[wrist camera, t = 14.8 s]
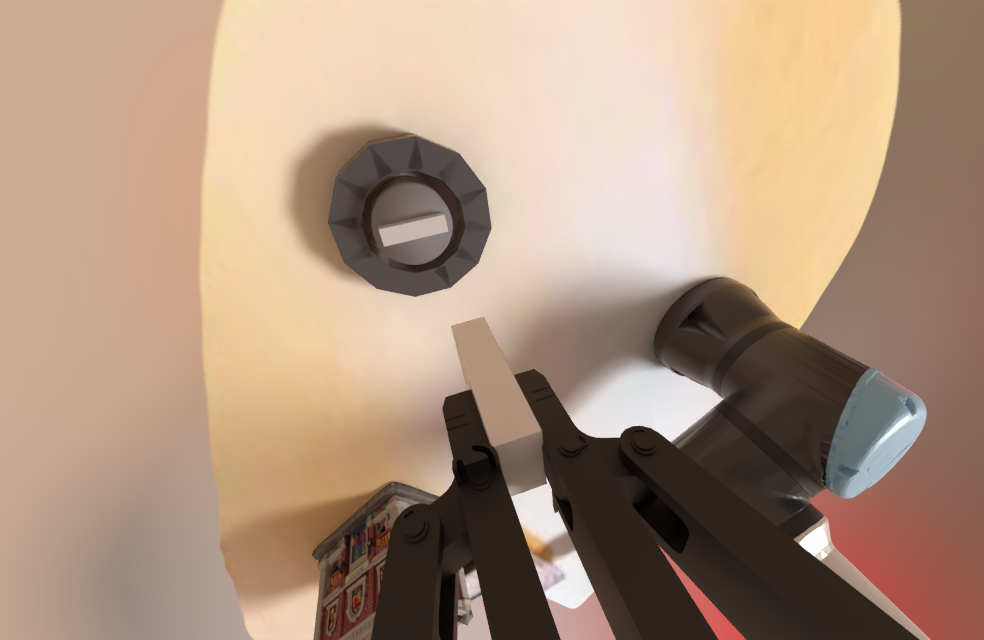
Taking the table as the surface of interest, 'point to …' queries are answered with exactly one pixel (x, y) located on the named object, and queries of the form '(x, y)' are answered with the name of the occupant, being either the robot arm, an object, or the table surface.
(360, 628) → the model building
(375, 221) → the cap
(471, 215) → the faceted gray torus
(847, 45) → the table surface
